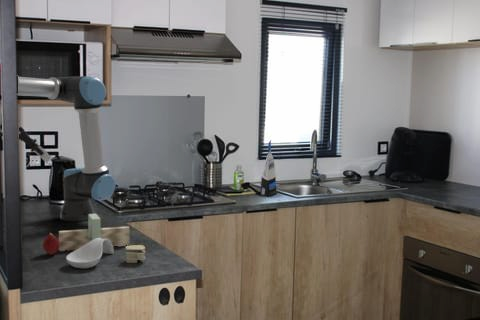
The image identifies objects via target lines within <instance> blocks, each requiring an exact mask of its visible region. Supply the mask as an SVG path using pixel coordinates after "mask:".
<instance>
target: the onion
mask: <svg viewBox="0 0 480 320" xmlns="http://www.w3.org/2000/svg"><path fill="white" fill-rule="evenodd" d="M59 247H60V242H59V238H57V237H56V236H55V235H54V234H53V233H51V232H49V235H48V236H46V237H45V239H44V241H43V243H42V248H43V250H44V251H45V252H46V253H47V254H49V255H50V256H53V255H54V254H55V253H57V252H58V251H59Z"/></svg>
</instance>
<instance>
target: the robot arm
mask: <svg viewBox="0 0 480 320" xmlns="http://www.w3.org/2000/svg"><path fill="white" fill-rule="evenodd" d="M106 89H107V88H106V86H105V84H104V83H103V82H102V80H101V79H99V78H97V77H95V76H88V75H87V76H85V75H84V76H82V75H81V76H79V75H78V76H73V75H72V76H62V77H61V76H60V77H59V76H58V77H53V76H52V77H49V78H41V77H40V78H39V77H38V78H37V77H27V76H18V95H17V96H28V97H29V96H30V97H44V98H45V97H46V98H48V99H49V100H55V101H60V102H65V103H70V104H73V108H74V111H76V112H77V113H78V118H79V127H80V129H79V130H80V137H81V146H82V154H83V162H84V167H77V168H69V169H65V170H64V171H63V177H62V178H63V199H64V200H63V205H62V206H61V207H62V208H61V210H60V213H59V214H60V215H59V216H60V217H59V218H60V220H62V221H64V222H84V221H88V214H95V212H94V211H95V209H94V208H93V205H92V202H91V200H95V201H106V200H108V199H109V198H111V196H113V193H114V192H115V190H116V179H115V178H114V177H113V175H111V174H110V170H109V167H108V166H107V165H106V164H105V157H104V156H105V155H104V146H103V139H102V138H103V137H102V128H101V127H102V126H101V119H100V110H101V109H102V108H103V102H104V101H105V98H106V96H107V90H106ZM20 120H21V119H20V118H19V122H20ZM0 131H2V114H1V108H0ZM18 139H19V140H20V142H23V143H25V144H26V146H28V147H29V148H30V152H31V153H33V152H34V153H35V154H36V155H37V156H39V158H41V159H42V161H44V162H45V163H48V162H49V161H50V160H51V159H52V158H53V157H52V156H51V155H49V152H47V151H46V149H45V148H43V147H42V146H41V145H40V144H38V143H37V139H33V138H32V137H30V136H29V134H28V132H26V131H25V129H24V128H23V127H22V126H19V138H18Z"/></svg>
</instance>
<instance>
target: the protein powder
mask: <svg viewBox="0 0 480 320" xmlns="http://www.w3.org/2000/svg"><path fill="white" fill-rule="evenodd" d="M267 147H268V149H267V151H268V152H267V155H266V159H265V163H264V167H263V171H262V173H261V181H260V193H259V194H260V195H261V196H263V197H267V198H268V197H274V196H276V195H277V193H278V192H277V179H276V178H277V177H276V168H275V167H276V166H275V160H274V156H273V154H272V148H271V147H272V139H270V140H269V142H268V146H267Z"/></svg>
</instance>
